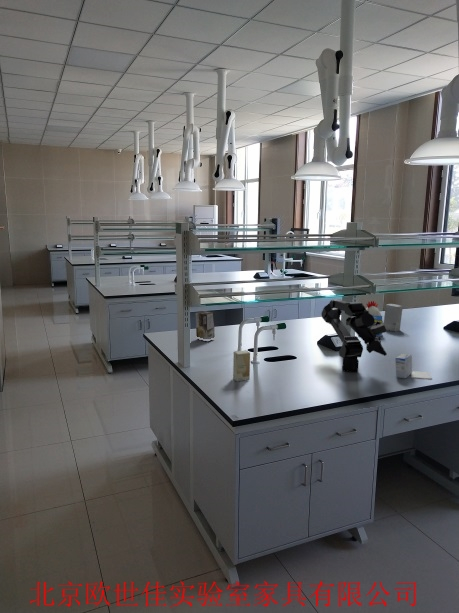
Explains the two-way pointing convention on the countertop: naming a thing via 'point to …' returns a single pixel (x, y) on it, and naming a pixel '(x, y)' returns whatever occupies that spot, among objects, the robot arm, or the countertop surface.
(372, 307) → the kitchen timer
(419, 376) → the mat
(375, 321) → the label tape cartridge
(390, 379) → the countertop surface
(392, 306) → the skincare box
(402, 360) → the medicine box
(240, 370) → the skincare box
